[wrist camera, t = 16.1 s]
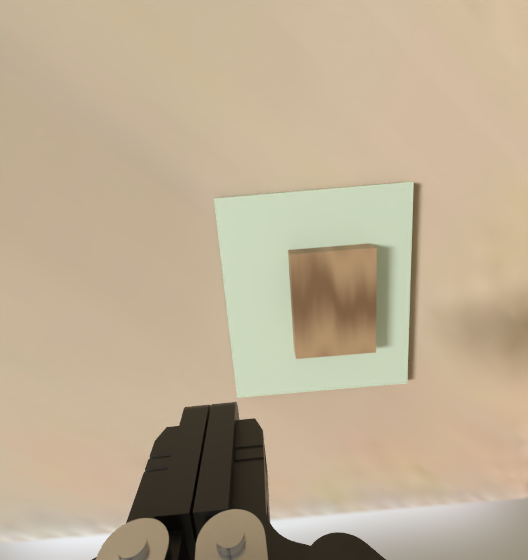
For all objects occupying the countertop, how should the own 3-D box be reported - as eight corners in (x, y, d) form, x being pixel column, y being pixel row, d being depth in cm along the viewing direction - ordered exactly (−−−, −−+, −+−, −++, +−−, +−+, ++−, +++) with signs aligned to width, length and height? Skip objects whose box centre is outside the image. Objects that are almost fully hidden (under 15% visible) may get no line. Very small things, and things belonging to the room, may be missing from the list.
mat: (214, 197, 26) (213, 198, 26) (410, 181, 26) (413, 181, 26) (237, 393, 31) (237, 397, 30) (404, 379, 31) (407, 383, 30)
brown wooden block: (290, 254, 25) (376, 247, 26) (288, 249, 27) (369, 243, 27) (296, 359, 28) (375, 352, 28) (293, 349, 29) (369, 343, 29)
